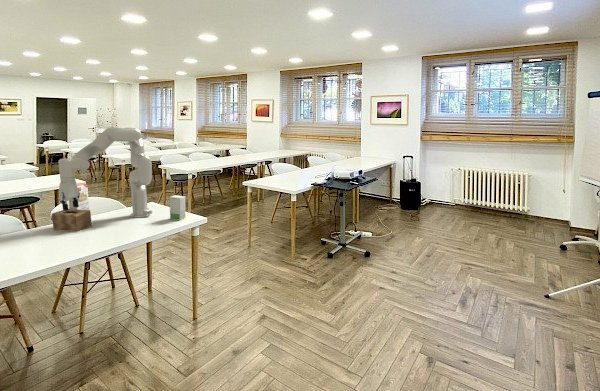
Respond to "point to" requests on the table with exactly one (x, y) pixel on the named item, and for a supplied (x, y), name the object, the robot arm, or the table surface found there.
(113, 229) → the table surface
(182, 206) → the skincare box
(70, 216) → the coin box
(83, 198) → the cracker box
